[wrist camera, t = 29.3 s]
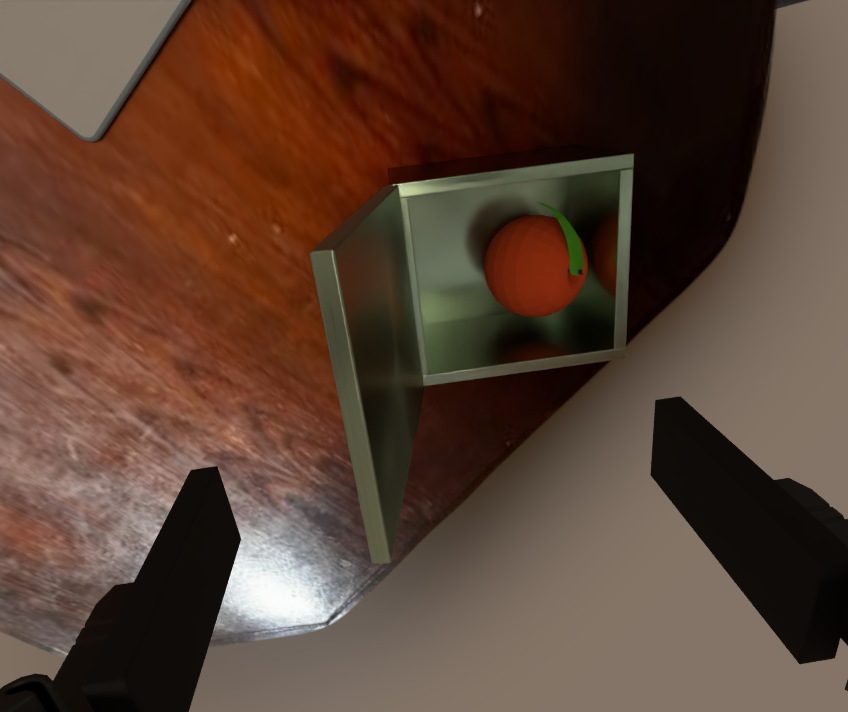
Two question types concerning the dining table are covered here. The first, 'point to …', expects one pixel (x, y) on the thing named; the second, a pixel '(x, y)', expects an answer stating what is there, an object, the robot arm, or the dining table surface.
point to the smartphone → (82, 54)
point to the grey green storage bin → (469, 240)
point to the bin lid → (373, 356)
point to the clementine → (536, 265)
